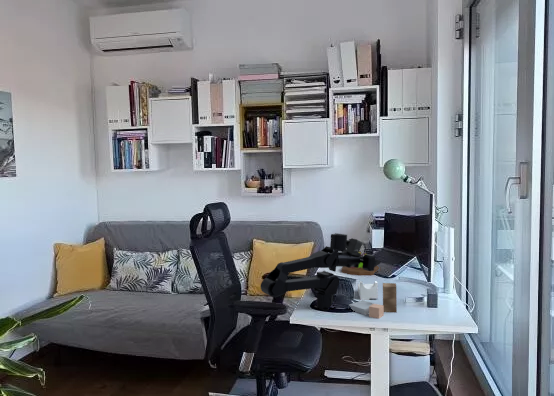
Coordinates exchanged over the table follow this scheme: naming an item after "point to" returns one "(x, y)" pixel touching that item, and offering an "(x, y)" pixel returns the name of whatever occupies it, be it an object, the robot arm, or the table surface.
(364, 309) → the grey base block
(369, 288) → the bracket
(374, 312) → the terracotta cube
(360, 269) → the plant
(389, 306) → the walnut pillar
